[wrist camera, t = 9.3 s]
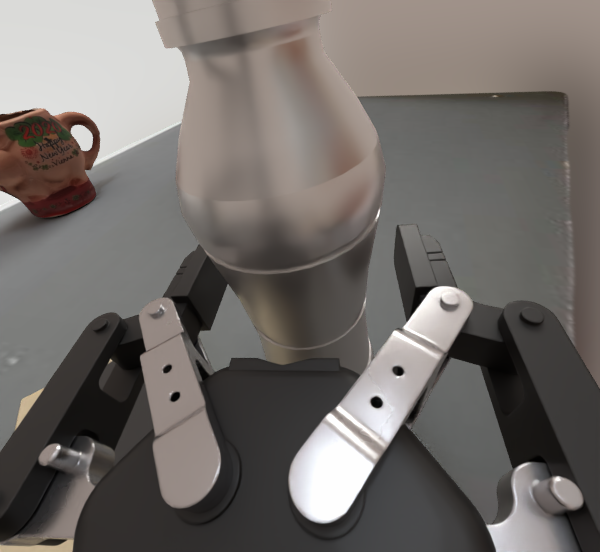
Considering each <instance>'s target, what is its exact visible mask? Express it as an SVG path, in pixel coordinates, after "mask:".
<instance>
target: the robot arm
mask: <svg viewBox="0 0 600 552" xmlns="http://www.w3.org/2000/svg"><path fill="white" fill-rule="evenodd" d="M394 265H395V270H396V275H397V280H398V284H399V289H400V293H401V298H402V302H403V307H404V312H405V316H406V321H407V323H406V324H405V326H404V327H403V328H402V329H400V328H397V329H396V330H395V331H394V332H393V333H392V334H391V336H390V337H389V338H388V340H387V341H386V342H385V344H384V345H383V346H382V347H381V349H380V350H379V351H378V353H377V354H376V355H375V357H374V358H373V359H372V361H371V362H370V363H369V365H368V366H367V367H366V369H365V370H364V371H363V373H362V374H361V375H360V374H358V373H356V372H354V371H353V370H350V369H348V368H345V367H341V366H340V360H339V358H310V359H306V360H302V361H298V362H294V363H289V364H285V365H280V364H276V363H273V362H269V361H265V360H262V359H258V358H231V362H230V365H229V367H226V368H223V369H221V370H219V371H217V372H214V370H213V368H212V366H211V363H210V361H209V359H208V356H207V354H206V352H205V349H204V347H203V344H202V342H201V340H200V338H199V337H198V335H199V332H200V331H205V330H211V327H212V324H213V322H214V319H215V316H216V314H217V311H218V308H219V306H220V303H221V300H222V298H223V295H224V292H225V290H226V287H227V284H228V283H227V281H226V280H225V279H224V277H223V276H222V274H221V273H220V272H219V270H218V269H217V268H216V266H215V265H214V263H213V262H212V261H211V259H210V258H209V257H208V255H207V254H206V252H205V250H204V249H203V248H202V247H201V246H200V244H199V245H198V247H197V249H196V250H195V251H193V252H191V253H190V254H189V255H188V256H187V257H186V258H185V259H184V261H183V263H182V264H181V266H180V269H179V270H178V271H177V273H176V275H175V277H174V278H173V280H172V282H171V284H170V285H169V287H168V289H167V291H166V292H165V294H164V296H163V297H162V298H159V299H156V300H153V301H152V302H150V303H148V304H147V305H146V306H145V307H144V308H143V309H142V311H141V312H140V315H136V316H133V317H130V318H126V319H122V318H121V317H120V316H119V315H118V314H116V313H106V314H103V315H101V316H99V317H97V318H96V319H94V320H93V321H92V322H91V323H90V324H89V325H88V326H87V327H86V328H85V330H84V331H83V333H82V334H81V336H80V337H79V339H78V340H77V342H76V343H75V344H74V346H73V347H72V349H71V350H70V352H69V353H68V355H67V356H66V358H65V359H64V360H63V362H62V363H61V365H60V366H59V368H58V369H57V371H56V372H55V373H54V375H53V376H52V378H51V379H50V381H49V382H48V384H47V385H46V387H45V388H44V389H43V391H42V392H41V394H40V395H39V397H38V398H37V400H36V401H35V403H34V404H33V405H32V407H31V408H30V410H29V411H28V413H27V414H26V416H25V417H24V418H23V420H22V421H21V423H20V424H19V426H18V427H17V429H16V430H15V432H14V433H13V434H12V436H11V437H10V439H9V440H8V442H7V443H6V445H5V446H4V448H3V449H2V450H1V452H0V545H6V546H27V547H31V546H35V545H44V546H57V545H60V544H62V543H64V542H65V541H67V540H74V542H73V551H72V552H600V389H599V387H598V385H597V384H596V382H595V380H594V379H593V377H592V375H591V374H590V372H589V370H588V369H587V367H586V365H585V364H584V362H583V360H582V359H581V357H580V355H579V354H578V352H577V350H576V349H575V347H574V345H573V344H572V342H571V340H570V339H569V337H568V335H567V334H566V332H565V330H564V329H563V327H562V325H561V324H560V322H559V320H558V319H557V317H556V316H555V315H554V314H553V313H552V312H551V311H550V310H549V309H547V308H545V307H544V306H542V305H539V304H537V303H534V302H530V301H522V300H521V301H513V302H510V303H509V304H507V305H506V306H505V308H504V309H502V308H497V307H492V306H487V305H483V304H479V303H476V302H474V301H472V299H471V298H470V297H469V295H468V294H466V293H465V292H464V291H462V290H460V289H458V287H457V285H456V282H455V280H454V278H453V275H452V273H451V270H450V268H449V266H448V263H447V261H446V258H445V256H444V254H443V251H442V249H441V246H440V244H439V242H438V241H437V240H435V239H434V238H433V237H432V236H431V235H420V232H419V229H418V226H417V224H406V225H397V228H396V238H395V249H394ZM451 358H455V359H458V360H462V361H466V362H469V363H473V364H476V365H480V367H481V370H482V373H483V377H484V380H485V383H486V386H487V389H488V392H489V395H490V399H491V402H492V405H493V408H494V411H495V414H496V417H497V421H498V424H499V427H500V430H501V433H502V436H503V439H504V443H505V446H506V449H507V452H508V455H509V458H510V461H511V465H512V468H513V470H511V471H509V472H508V473H506V474H505V475H503V476H502V477H501V478H500V480H499V482H498V485H497V498H498V513H497V516H496V518H495V520H494V521H493V523H492V524H490V525H488V524H485V522H484V520H483V519H482V517H481V515H480V514H479V512H478V511H477V509H476V508H475V506H474V505H473V504H472V502H471V501H470V500H469V499H468V498H467V496H466V495H465V494H464V493H463V492H462V490H461V489H460V488H459V487H458V486H457V485H456V483H455V482H454V481H453V480H452V479H451V477H450V476H449V475H448V474H447V473H446V471H445V470H444V469H443V468H442V467H441V466H440V464H439V463H438V462H437V461H436V460H435V458H434V457H433V456H432V455H431V454H430V453H429V451H428V450H427V449H426V448H425V447H424V445H423V444H422V443H421V442H420V441H419V440H418V438H417V437H416V436H415V435H414V434H413V432H412V431H411V429H412V427H413V425H414V424H415V422H416V420H417V419H418V417H419V415H420V413H421V412H422V410H423V408H424V406H425V404H426V402H427V400H428V398H429V396H430V394H431V392H432V391H433V389H434V387H435V385H436V384H437V382H438V380H439V378H440V377H441V375H442V373H443V372H444V370H445V368H446V366H447V365H448V363H449V361H450V359H451ZM110 359H111V360H112V361H113V362H114V363H116V365H115V367H114V368H113V370H112V372H111V374H110V376H109V378H108V380H107V381H106V383H105V385H104V387H103V389H102V390H101V389H100V387H99V379H100V377H101V375H102V373H103V371H104V369H105V368H106V366H107V364H108V362H109V361H110ZM144 382H145V386H146V391H147V396H148V401H149V406H150V411H151V416H152V421H153V426H154V428H153V429H152V430H151V431H150V432H149V433H148V434H147V435H146V436H145V437H144V438H143V439H142V440H141V441H140V442H139V443H138V444H136V445H135V446H134V447H133V448H132V449H131V450H130V451H129V452H128V453H127V454H126V455H125V456H124V457H123V458H122V459H121V460H120V461H119V462H118V463H117V464H116V465H114V461H115V454H114V450H115V448H116V446H117V444H118V441H119V439H120V437H121V434H122V432H123V430H124V428H125V425H126V423H127V421H128V418H129V416H130V414H131V412H132V409H133V407H134V405H135V402H136V400H137V398H138V396H139V393H140V391H141V389H142V386H143V384H144Z"/></svg>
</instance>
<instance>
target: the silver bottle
mask: <svg viewBox="0 0 600 552" xmlns="http://www.w3.org/2000/svg"><path fill="white" fill-rule="evenodd" d="M152 1H153V4H154V7H155V9H156V12H157V14H158V17H159V20H160V21H157V22H155V23H156V26H157V28H158V31H159V33H160V36H161V38H162V41H163V44H164V46H165V48H174V47H177V48H178V49H179V50H180V51H181V52H182V54H183V56H184V59H185V62H186V67H187V71H188V76H189V80H190V84H189V89H188V94H187V99H186V104H185V109H184V114H183V119H182V124H181V129H180V134H179V143H178V154H177V165H176V185H177V191H178V197H179V202H180V208H181V213H182V215H183V217H184V219H185V221H186V223H187V224H188V226H189V228H190V229H191V231H192V232H193V234H194V236H195V237H196V239H197V241H198V243H199V244H200V246H201V247H202V248H203V249H204V250H205V252H206V254H207V255H208V257H209V258H210V259H211V261H212V262H213V263H214V265H215V266H216V268H217V269H218V270H219V272H220V273H221V274H222V276H223V277H224V279H225V280H226V281H227V283H228V284H229V286H230V287H231V288H232V290H233V291H234V292H235V294H236V295H237V297H238V298H239V299H240V301H241V303H242V305H243V306H244V308H245V310H246V312H247V314H248V316H249V317H250V319H251V321H252V323H253V325H254V327H255V328H256V330H257V332H258V334H259V337H260V340H261V343H262V346H263V350H264V353H265V356H266V360H267V361H269V362H273V363H276V364H280V365H285V364H289V363H294V362H298V361H302V360H306V359H310V358H339V360H340V366H341V367H345V368H348V369H350V370H353V371H354V372H356V373H358V374H360V375H361V374H362V373H363V371H364V370H365V369H366V367H367V366H368V365H369V363H370V362H371V361H372V359H373V358H374V353H373V348H372V346H371V343H370V340H369V338H368V331H367V323H366V315H365V303H366V290H367V278H368V268H369V263H370V258H371V253H372V248H373V243H374V239H375V234H376V229H377V224H378V219H379V213H380V207H381V205H382V196H383V188H384V180H385V170H386V166H385V162H384V158H383V154H382V150H381V145H380V141H379V137H378V134H377V132H376V129H375V127H374V126H373V124H372V122H371V120H370V119H369V117H368V115H367V113H366V112H365V110H364V108H363V106H362V105H361V103H360V101H359V100H358V98H357V96H356V95H355V93H354V92H353V90H352V89H351V88H350V86H349V85H348V84H347V82H346V81H345V79H344V78H343V77H342V75H341V74H340V73H339V71H338V70H337V69H336V67H335V66H334V64H333V63H332V62H331V60H330V59H329V57H328V56H327V55H326V53H325V52H324V48H323V44H322V39H321V34H320V29H319V19H320V16H321V15H322V14H325V13H328V12H331V11H332V3H331V0H152Z"/></svg>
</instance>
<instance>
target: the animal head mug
mask: <svg viewBox="0 0 600 552" xmlns="http://www.w3.org/2000/svg"><path fill="white" fill-rule="evenodd" d="M74 125H83V126H85V127H86V128H87V129H89V130H90V131H91V133H92V135H93V145H92V148H91V149H90V150H89V151H82V150H81V148H80V146H79V144H78V143H77V141H76V140H75V139H74V137H73V136H72V134H71V132H70V131H71V128H72V126H74ZM99 135H100V133H99V130H98V128H97V126H96V124H95V123H94V122H93V121H92V120H91V119H90V118H89V117H87V116H86V115H83V114H81V113H77V112H65V113H62V114H59V115H56V116H52V115H50V114H49V112H48V111H46V110H45V109H41V108H40V109H31V110H25V111H19V112H15V113H10V114H1V115H0V191H3V192H5V193H8V194H9V195H12V196H13V197H15V198H17V199H19V200H20V201H21V202H22V203H23V204H24V205H25V206H26V207H27V208H28V209H29V210H30V212H31V213H32V214H34V215H35V216H37V217H42V218H49V217H56V216H60V215H64V214H66V213H69V212H72V211H74V210H76V209H78V208H80V207H82V206H84V205H86V204H87V203H89V202H91V201H92V200H93V199H94V198H95V196H96V192H95V188H94V186H93V185H92V183H91V181H90V180H89V178H88V176H87V175H86V173H85V170H91V168H92V166H93V163H94V161H95V159H96V158H97V155H98V152H99V148H100V136H99Z"/></svg>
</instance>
